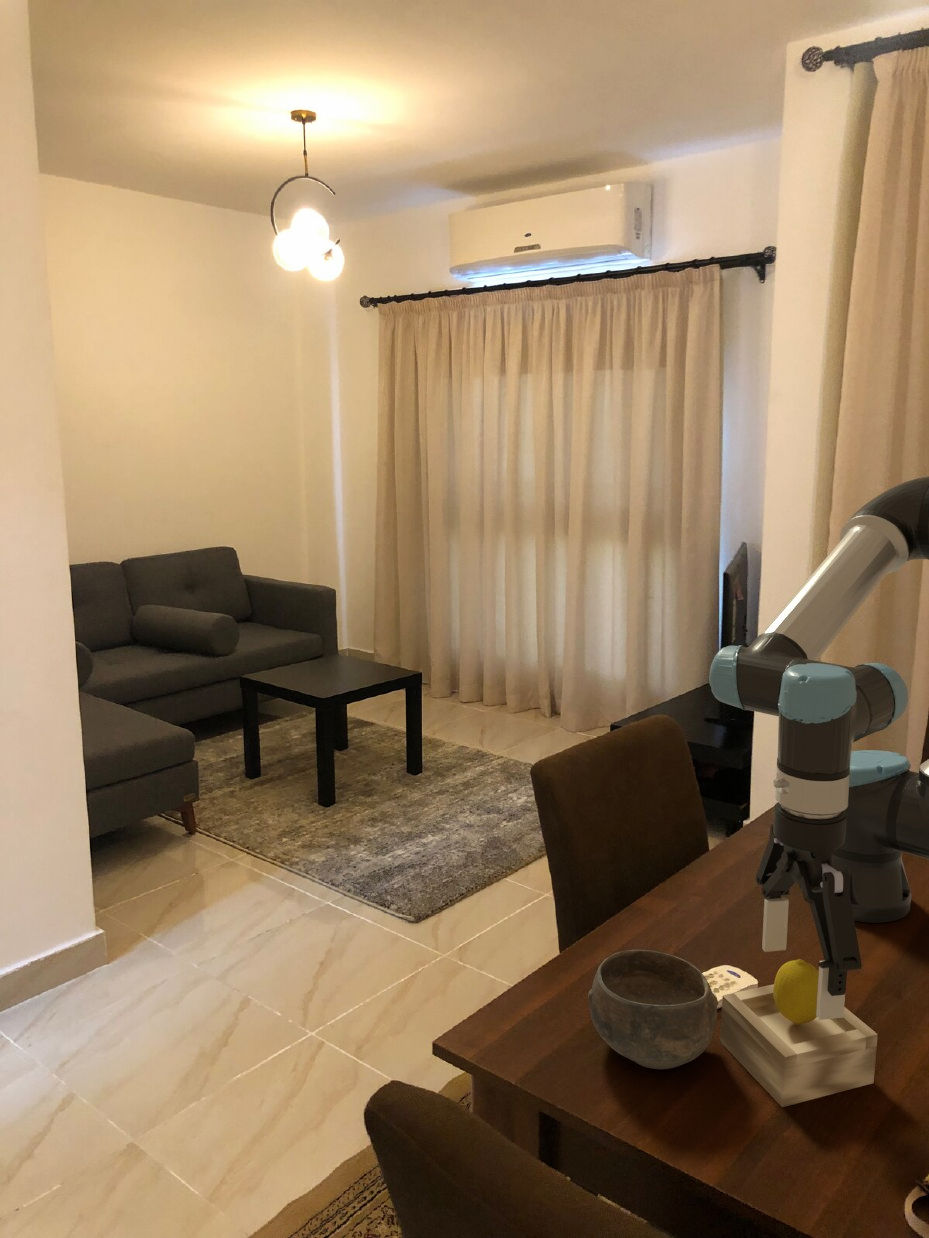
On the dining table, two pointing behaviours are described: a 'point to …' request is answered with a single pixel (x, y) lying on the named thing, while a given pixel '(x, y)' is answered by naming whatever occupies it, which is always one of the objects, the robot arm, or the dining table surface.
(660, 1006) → the bowl
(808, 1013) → the lemon
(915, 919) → the dining table surface
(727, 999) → the birch box
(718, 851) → the dining table surface
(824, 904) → the robot arm
